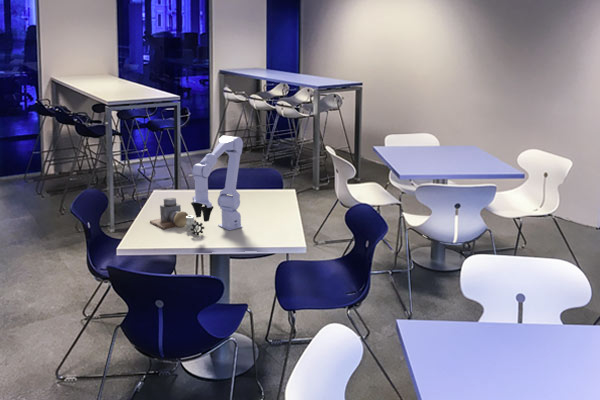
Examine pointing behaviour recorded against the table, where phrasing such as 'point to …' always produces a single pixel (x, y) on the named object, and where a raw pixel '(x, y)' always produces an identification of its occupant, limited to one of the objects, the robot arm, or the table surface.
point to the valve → (193, 225)
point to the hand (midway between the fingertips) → (202, 219)
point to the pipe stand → (170, 215)
